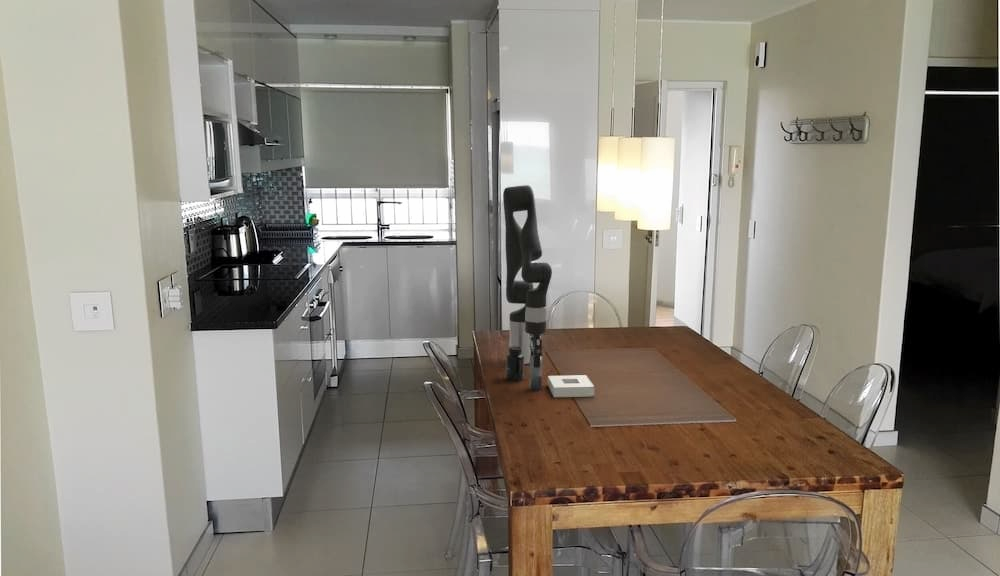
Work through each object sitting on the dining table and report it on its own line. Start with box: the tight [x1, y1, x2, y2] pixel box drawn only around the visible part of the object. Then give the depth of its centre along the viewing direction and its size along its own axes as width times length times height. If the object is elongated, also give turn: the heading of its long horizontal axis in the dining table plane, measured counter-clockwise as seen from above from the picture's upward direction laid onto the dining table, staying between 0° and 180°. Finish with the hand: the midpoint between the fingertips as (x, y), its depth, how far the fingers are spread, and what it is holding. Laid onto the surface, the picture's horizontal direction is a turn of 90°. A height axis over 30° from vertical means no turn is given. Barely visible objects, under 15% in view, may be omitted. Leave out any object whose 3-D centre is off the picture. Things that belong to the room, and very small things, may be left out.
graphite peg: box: [529, 355, 543, 392], centre depth 259 cm, size 4×4×12 cm
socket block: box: [547, 374, 595, 398], centre depth 257 cm, size 14×14×4 cm
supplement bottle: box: [505, 346, 525, 382], centre depth 271 cm, size 7×7×12 cm
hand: (535, 364), depth 258 cm, fingers open, 8 cm apart
